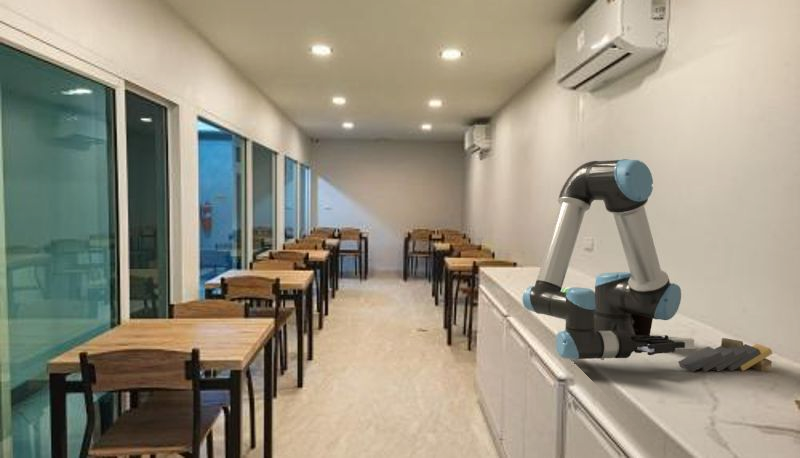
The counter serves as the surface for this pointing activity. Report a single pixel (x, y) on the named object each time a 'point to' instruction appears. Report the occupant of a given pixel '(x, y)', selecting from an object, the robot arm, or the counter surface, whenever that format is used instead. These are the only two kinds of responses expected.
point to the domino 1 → (700, 359)
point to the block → (763, 365)
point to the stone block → (731, 343)
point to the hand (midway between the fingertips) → (692, 343)
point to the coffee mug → (641, 324)
